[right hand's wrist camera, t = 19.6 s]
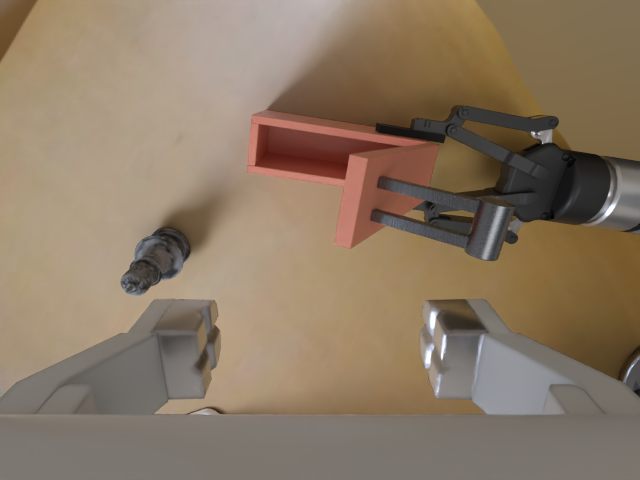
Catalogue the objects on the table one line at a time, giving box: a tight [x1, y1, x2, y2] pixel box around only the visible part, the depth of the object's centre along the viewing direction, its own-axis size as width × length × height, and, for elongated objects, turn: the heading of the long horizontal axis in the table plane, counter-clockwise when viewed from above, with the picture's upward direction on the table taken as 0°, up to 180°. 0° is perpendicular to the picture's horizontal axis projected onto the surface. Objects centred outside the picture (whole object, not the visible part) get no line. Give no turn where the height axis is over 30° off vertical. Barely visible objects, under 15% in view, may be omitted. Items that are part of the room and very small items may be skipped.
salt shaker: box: [121, 228, 190, 296], centre depth 46 cm, size 6×6×12 cm
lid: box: [334, 143, 515, 261], centre depth 28 cm, size 18×5×9 cm
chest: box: [247, 110, 431, 186], centre depth 42 cm, size 17×5×10 cm, turn 81°
